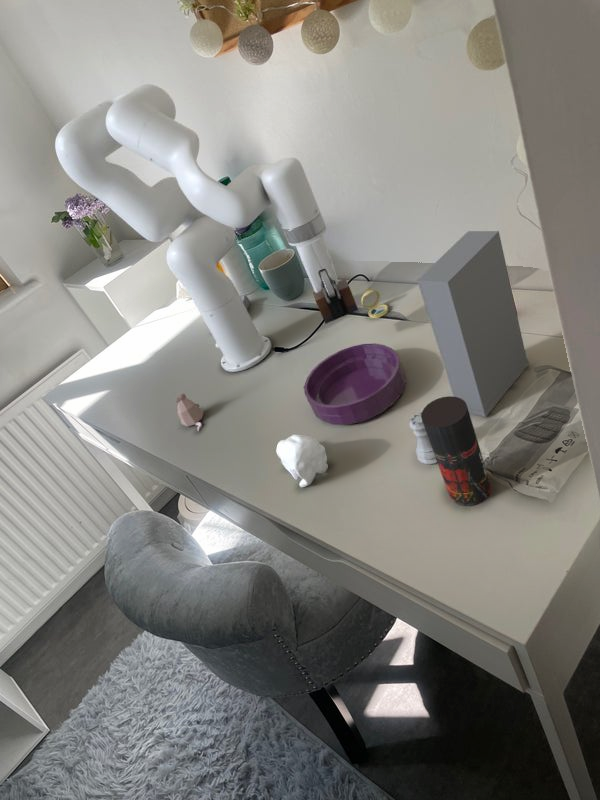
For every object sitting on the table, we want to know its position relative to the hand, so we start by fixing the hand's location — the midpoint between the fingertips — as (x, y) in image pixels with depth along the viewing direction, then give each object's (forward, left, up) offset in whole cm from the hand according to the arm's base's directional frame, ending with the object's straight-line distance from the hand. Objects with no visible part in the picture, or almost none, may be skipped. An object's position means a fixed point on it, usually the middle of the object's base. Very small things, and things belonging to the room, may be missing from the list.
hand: (338, 310), depth 122 cm
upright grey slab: (+34, -4, -10) cm, 35 cm away
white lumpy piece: (+14, -31, -10) cm, 36 cm away
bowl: (+11, -12, -10) cm, 19 cm away
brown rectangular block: (0, 0, -1) cm, 1 cm away
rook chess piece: (+33, -21, -10) cm, 40 cm away
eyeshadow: (-3, +13, -10) cm, 17 cm away
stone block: (-47, +4, -10) cm, 48 cm away
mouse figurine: (-21, -30, -10) cm, 38 cm away
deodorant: (+42, -25, -10) cm, 50 cm away
